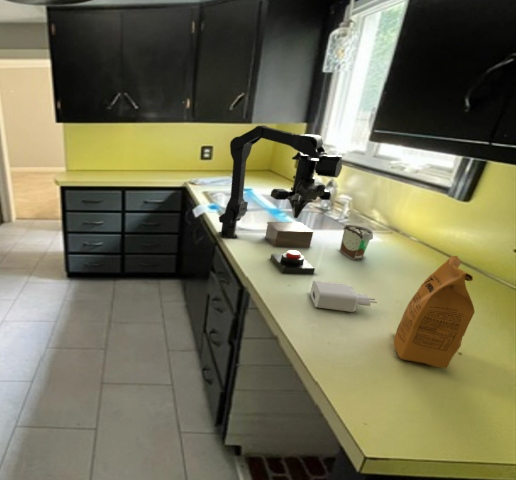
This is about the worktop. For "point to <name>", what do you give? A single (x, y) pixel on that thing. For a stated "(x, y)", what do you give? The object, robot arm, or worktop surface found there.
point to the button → (293, 254)
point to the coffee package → (436, 317)
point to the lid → (289, 227)
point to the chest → (288, 238)
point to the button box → (292, 264)
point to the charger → (337, 296)
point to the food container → (355, 241)
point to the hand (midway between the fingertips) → (295, 217)
